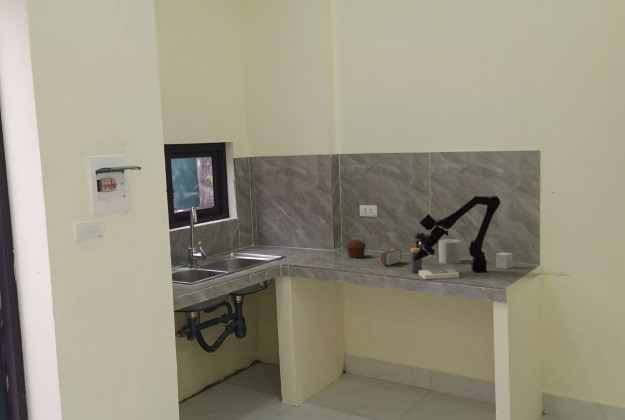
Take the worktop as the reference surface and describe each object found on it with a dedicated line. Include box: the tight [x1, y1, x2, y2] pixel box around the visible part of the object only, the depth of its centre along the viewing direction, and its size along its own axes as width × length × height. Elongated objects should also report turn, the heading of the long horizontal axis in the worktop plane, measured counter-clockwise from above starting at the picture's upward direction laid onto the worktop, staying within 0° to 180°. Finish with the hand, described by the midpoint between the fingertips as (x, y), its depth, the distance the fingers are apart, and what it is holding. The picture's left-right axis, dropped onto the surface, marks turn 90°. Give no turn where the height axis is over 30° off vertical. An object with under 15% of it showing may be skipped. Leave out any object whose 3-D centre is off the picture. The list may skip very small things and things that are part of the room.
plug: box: [410, 247, 423, 274], centre depth 323 cm, size 4×4×12 cm
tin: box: [380, 247, 402, 266], centre depth 346 cm, size 15×3×8 cm, turn 134°
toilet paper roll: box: [438, 238, 462, 265], centre depth 346 cm, size 12×12×12 cm
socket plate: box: [418, 268, 460, 280], centre depth 313 cm, size 17×12×2 cm
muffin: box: [345, 239, 367, 259], centre depth 371 cm, size 12×11×10 cm
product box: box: [495, 251, 514, 270], centre depth 326 cm, size 6×6×7 cm
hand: (413, 259), depth 323 cm, fingers closed on plug, 4 cm apart
